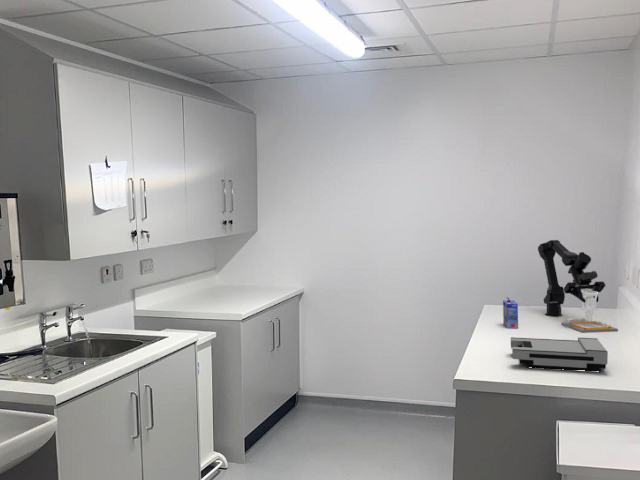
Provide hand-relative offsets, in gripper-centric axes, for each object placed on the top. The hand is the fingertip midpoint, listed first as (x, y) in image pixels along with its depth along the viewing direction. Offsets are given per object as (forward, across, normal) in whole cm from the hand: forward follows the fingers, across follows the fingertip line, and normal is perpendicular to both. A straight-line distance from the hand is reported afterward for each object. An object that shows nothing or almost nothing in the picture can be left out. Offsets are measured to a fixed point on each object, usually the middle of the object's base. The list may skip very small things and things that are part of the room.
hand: (591, 301), depth 277 cm
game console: (+45, -45, -26) cm, 69 cm away
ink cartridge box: (0, -34, +19) cm, 39 cm away
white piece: (+6, 0, +8) cm, 10 cm away
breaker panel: (+7, +1, +12) cm, 14 cm away
